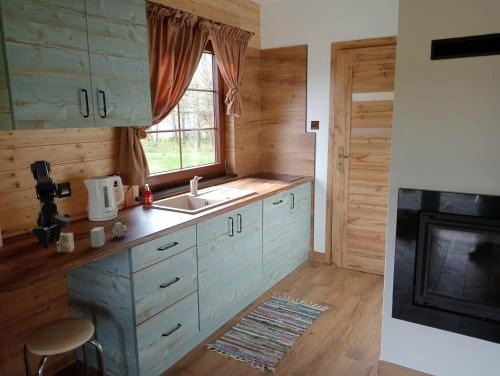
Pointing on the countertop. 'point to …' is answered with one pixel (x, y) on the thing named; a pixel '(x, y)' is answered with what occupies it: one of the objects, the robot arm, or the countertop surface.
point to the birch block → (65, 242)
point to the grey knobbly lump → (119, 229)
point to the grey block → (97, 236)
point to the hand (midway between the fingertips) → (52, 244)
